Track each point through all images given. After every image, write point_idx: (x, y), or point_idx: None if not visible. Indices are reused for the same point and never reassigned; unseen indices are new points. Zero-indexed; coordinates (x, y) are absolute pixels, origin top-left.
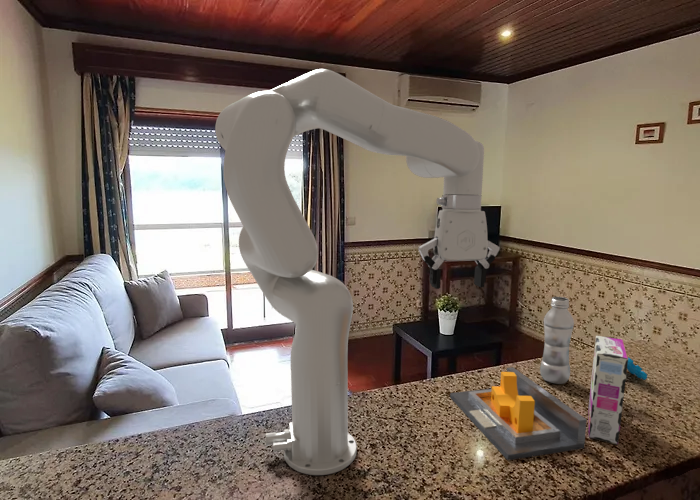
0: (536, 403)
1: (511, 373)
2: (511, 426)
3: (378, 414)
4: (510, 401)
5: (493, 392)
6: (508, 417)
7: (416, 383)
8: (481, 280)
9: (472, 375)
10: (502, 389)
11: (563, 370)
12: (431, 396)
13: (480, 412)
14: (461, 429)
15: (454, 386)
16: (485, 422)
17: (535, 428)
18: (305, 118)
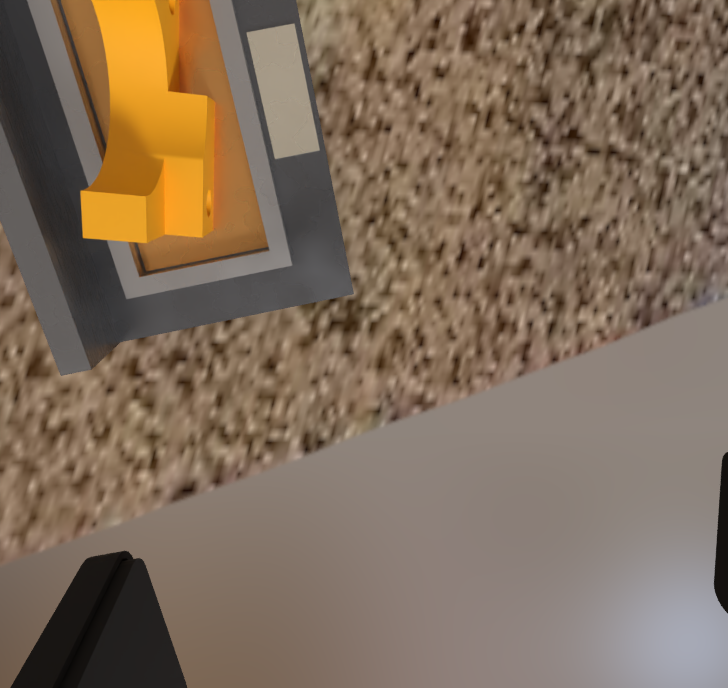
0: (38, 145)
1: (99, 222)
2: (188, 27)
3: (628, 178)
4: (153, 124)
5: (205, 204)
6: None
7: (447, 394)
8: (98, 626)
9: (223, 456)
10: (164, 200)
11: None
12: (417, 299)
13: (280, 135)
14: (370, 62)
15: (314, 372)
16: (281, 60)
17: None
18: None
